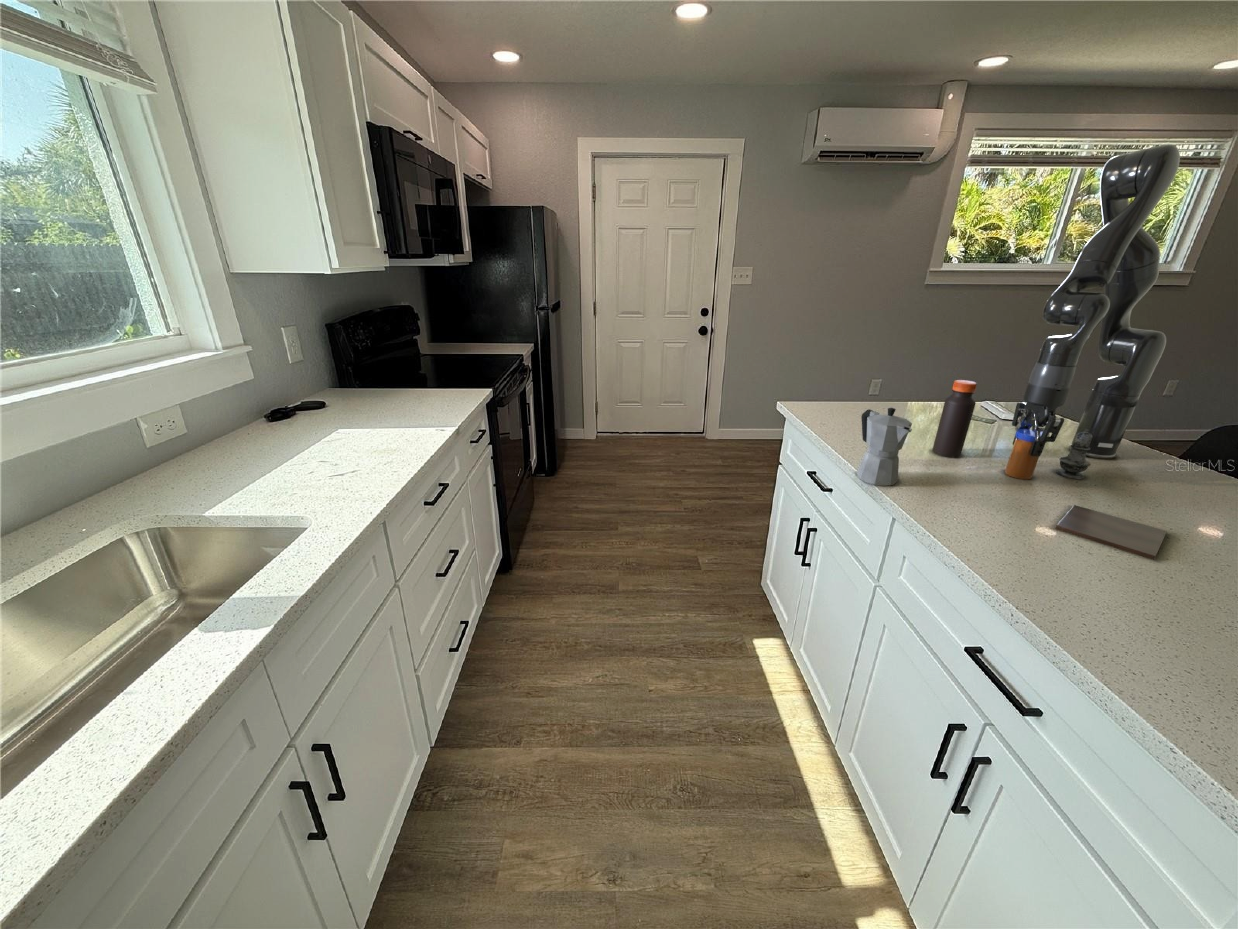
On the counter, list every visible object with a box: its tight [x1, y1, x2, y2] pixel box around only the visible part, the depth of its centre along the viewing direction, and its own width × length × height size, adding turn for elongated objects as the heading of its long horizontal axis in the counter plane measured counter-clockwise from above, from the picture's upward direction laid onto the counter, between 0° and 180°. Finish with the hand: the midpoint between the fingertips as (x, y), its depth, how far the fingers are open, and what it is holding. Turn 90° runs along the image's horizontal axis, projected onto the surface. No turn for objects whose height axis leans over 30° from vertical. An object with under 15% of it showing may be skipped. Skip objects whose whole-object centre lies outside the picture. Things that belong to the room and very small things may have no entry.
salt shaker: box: [1055, 429, 1092, 480], centre depth 120 cm, size 6×6×12 cm
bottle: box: [932, 379, 978, 458], centre depth 132 cm, size 7×7×20 cm
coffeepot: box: [855, 407, 913, 487], centre depth 118 cm, size 15×9×18 cm, turn 13°
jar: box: [1004, 438, 1040, 480], centre depth 120 cm, size 5×5×10 cm
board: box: [1054, 504, 1167, 560], centre depth 97 cm, size 14×14×1 cm
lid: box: [1014, 428, 1043, 442], centre depth 118 cm, size 6×6×2 cm
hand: (1025, 450), depth 119 cm, fingers open, 6 cm apart
